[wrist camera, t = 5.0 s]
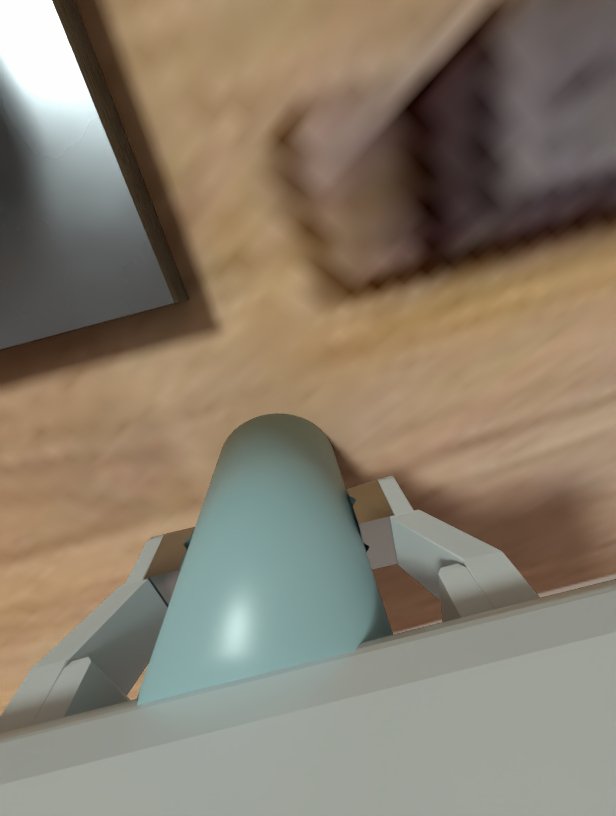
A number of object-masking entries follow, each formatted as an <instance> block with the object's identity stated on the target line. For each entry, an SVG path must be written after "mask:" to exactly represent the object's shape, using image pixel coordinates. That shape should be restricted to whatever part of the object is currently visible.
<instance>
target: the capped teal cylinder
mask: <svg viewBox="0 0 616 816" xmlns="http://www.w3.org/2000/svg"><path fill="white" fill-rule="evenodd" d="M390 635H393V633H392V630H391V627H390V624H389V621H388V618H387V614H386V611H385V608H384V605H383V602H382V599H381V596H380V593H379V590H378V587H377V584H376V581H375V577H374V574H373V571H372V568H371V565H370V562H369V559H368V556H367V553H366V550H365V547H364V543H363V540H362V538H361V535H360V532H359V529H358V525H357V522H356V519H355V516H354V513H353V510H352V507H351V504H350V501H349V497H348V494H347V491H346V488H345V485H344V482H343V479H342V476H341V472H340V469H339V466H338V463H337V460H336V457H335V454H334V451H333V448H332V445H331V443H330V441H329V439H328V438H327V436H326V435H325V434H324V433H323V432H322V431H321V430H320V429H319V428H318V427H317V426H316V425H314V424H313V423H311V422H309V421H308V420H305V419H303V418H301V417H297V416H294V415H288V414H268V415H263V416H259V417H256V418H253V419H251V420H249V421H247V422H245V423H243V424H242V425H240V426H239V427H238V428H237V429H235V430H234V431H233V432H232V433H231V435H230V436H229V437H228V438H227V440H226V441H225V443H224V445H223V447H222V450H221V453H220V456H219V459H218V462H217V465H216V468H215V471H214V474H213V476H212V479H211V482H210V485H209V488H208V491H207V494H206V497H205V500H204V503H203V506H202V509H201V512H200V515H199V518H198V521H197V524H196V526H195V529H194V532H193V535H192V538H191V541H190V544H189V547H188V550H187V553H186V556H185V559H184V562H183V565H182V568H181V571H180V574H179V576H178V579H177V582H176V585H175V588H174V591H173V594H172V597H171V600H170V603H169V606H168V609H167V612H166V615H165V618H164V621H163V624H162V627H161V629H160V632H159V635H158V638H157V641H156V644H155V647H154V650H153V653H152V656H151V659H150V662H149V665H148V668H147V671H146V674H145V677H144V679H143V682H142V685H141V688H140V691H139V694H138V697H137V699H138V703H137V705H139V704H143V703H147V702H151V701H155V700H159V699H163V698H167V697H171V696H175V695H179V694H183V693H186V692H190V691H194V690H198V689H202V688H206V687H210V686H214V685H218V684H222V683H226V682H230V681H234V680H238V679H242V678H246V677H250V676H254V675H258V674H262V673H266V672H270V671H274V670H278V669H282V668H286V667H290V666H294V665H298V664H302V663H306V662H310V661H314V660H318V659H322V658H326V657H330V656H334V655H338V654H342V653H346V652H350V651H354V650H356V649H357V647H358V646H359V644H361V643H363V642H366V641H370V640H374V639H378V638H382V637H386V636H390Z"/></svg>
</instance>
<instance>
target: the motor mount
mask: <svg viewBox="0 0 616 816" xmlns="http://www.w3.org/2000/svg"><path fill="white" fill-rule="evenodd" d="M186 300H189V298H188V296H187V293H186V290H185V288H184V285H183V283H182V280H181V277H180V275H179V272H178V270H177V267H176V264H175V262H174V259H173V257H172V254H171V251H170V249H169V246H168V244H167V241H166V238H165V236H164V233H163V231H162V228H161V225H160V223H159V220H158V217H157V215H156V212H155V210H154V207H153V204H152V202H151V199H150V197H149V194H148V191H147V189H146V186H145V184H144V181H143V178H142V176H141V173H140V171H139V168H138V165H137V163H136V160H135V158H134V155H133V152H132V150H131V147H130V145H129V142H128V139H127V137H126V134H125V132H124V129H123V126H122V124H121V121H120V119H119V116H118V113H117V111H116V108H115V106H114V103H113V100H112V98H111V95H110V93H109V90H108V87H107V85H106V82H105V80H104V77H103V74H102V72H101V69H100V66H99V64H98V61H97V59H96V56H95V53H94V51H93V48H92V46H91V43H90V40H89V38H88V35H87V33H86V30H85V27H84V25H83V22H82V20H81V17H80V14H79V12H78V9H77V7H76V4H75V1H74V0H0V350H3V349H7V348H10V347H14V346H18V345H21V344H25V343H29V342H33V341H36V340H40V339H44V338H48V337H51V336H55V335H59V334H63V333H66V332H70V331H74V330H77V329H81V328H85V327H89V326H92V325H96V324H100V323H104V322H107V321H111V320H115V319H119V318H122V317H126V316H130V315H133V314H137V313H141V312H145V311H148V310H152V309H156V308H160V307H163V306H167V305H171V304H175V303H178V302H182V301H186Z"/></svg>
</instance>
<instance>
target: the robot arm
mask: <svg viewBox="0 0 616 816" xmlns="http://www.w3.org/2000/svg"><path fill="white" fill-rule="evenodd" d="M346 489H347V494H348V497H349V501H350V504H351V507H352V510H353V513H354V516H355V519H356V522H357V525H358V529H359V532H360V535H361V538H362V540H363V543H364V547H365V550H366V553H367V556H368V559H369V562H370V565H371V568H372V569H376V568H381V567H385V566H390V565H394V564H398V565H399V566H400V567H401V568H402V569H403V570H404V571H406V572H407V573H408V574H409V575H410V576H412V577H413V578H414V579H415V580H416V581H417V582H419V583H420V584H421V585H422V586H423V587H425V588H426V589H427V590H428V591H429V592H431V593H432V594H433V595H434V596H435V597H436V598H438V599H439V600H440V601H441V610H442V621H443V622H442V623H438V624H434V625H430V626H426V627H422V628H418V629H414V630H410V631H406V632H402V633H398V634H394V635H390V636H386V637H382V638H378V639H374V640H370V641H366V642H363V643H361V644H359V646H358V647H357V649H356V650H354V651H350V652H346V653H342V654H338V655H334V656H330V657H326V658H322V659H318V660H314V661H310V662H306V663H302V664H298V665H294V666H290V667H286V668H282V669H278V670H274V671H270V672H266V673H262V674H258V675H254V676H250V677H246V678H242V679H238V680H234V681H230V682H226V683H222V684H218V685H214V686H210V687H206V688H202V689H198V690H194V691H190V692H186V693H183V694H179V695H175V696H171V697H167V698H163V699H159V700H155V701H151V702H147V703H143V704H139V705H137V703H138V699H135V700H130V699H129V698H128V697H127V694H128V693H129V691H130V690H131V688H132V687H133V685H134V684H135V683H136V681H137V680H138V678H139V677H140V675H141V674H142V672H143V671H144V669H145V668H146V666H147V665H148V663H149V662H150V659H151V656H152V653H153V650H154V647H155V644H156V641H157V638H158V635H159V632H160V629H161V627H162V624H163V621H164V618H165V615H166V612H167V609H168V606H169V603H170V600H171V597H172V594H173V591H174V588H175V585H176V582H177V579H178V576H179V574H180V571H181V568H182V565H183V562H184V559H185V556H186V553H187V550H188V547H189V544H190V541H191V538H192V535H193V532H194V529H195V527H192V528H188V529H184V530H179V531H175V532H171V533H167V534H163V535H159V536H155V537H152V538H150V539H149V540H148V541H147V543H146V544H145V546H144V548H143V550H142V552H141V554H140V556H139V558H138V560H137V562H136V564H135V566H134V568H133V570H132V572H131V574H130V576H129V578H128V580H127V581H126V583H125V585H121V586H119V587H118V588H117V589H116V590H115V591H114V592H113V593H112V594H111V595H110V596H109V597H107V598H106V599H105V600H104V601H103V602H102V603H101V604H100V605H99V606H98V607H97V608H96V609H95V610H94V611H93V612H92V613H90V614H89V615H88V616H87V617H86V618H85V619H84V620H83V621H82V622H81V623H80V624H79V625H78V626H77V627H76V628H74V629H73V630H72V631H71V632H70V633H69V634H68V635H67V636H66V637H65V638H64V639H63V640H62V641H61V642H60V643H58V644H57V645H56V646H55V647H54V648H53V649H52V650H51V651H50V652H49V653H48V654H47V655H46V656H45V657H44V658H43V659H41V660H40V661H39V662H38V663H37V664H36V665H35V666H34V667H33V668H32V669H31V670H30V672H29V673H28V675H27V676H26V678H25V679H24V681H23V682H22V684H21V686H20V687H19V689H18V690H17V692H16V693H15V695H14V696H13V698H12V700H11V701H10V703H9V704H8V706H7V707H6V709H5V710H4V712H3V714H2V715H1V717H0V816H616V579H614V580H610V581H606V582H602V583H598V584H594V585H590V586H586V587H582V588H578V589H575V590H570V591H566V592H562V593H558V594H554V595H550V596H546V597H542V598H540V597H539V596H538V594H537V593H536V592H535V591H534V589H533V588H532V587H531V586H530V585H529V583H528V582H527V581H526V580H525V579H524V577H523V576H522V575H521V574H520V573H519V571H518V570H517V569H516V568H515V566H514V565H513V564H512V563H511V562H510V560H509V559H508V558H507V557H506V556H505V554H504V553H503V552H502V551H501V550H499V549H497V548H495V547H493V546H491V545H489V544H487V543H485V542H483V541H481V540H479V539H477V538H475V537H473V536H471V535H469V534H467V533H465V532H463V531H461V530H459V529H457V528H455V527H453V526H451V525H449V524H447V523H445V522H443V521H441V520H439V519H437V518H435V517H433V516H431V515H429V514H427V513H425V512H423V511H421V510H415V511H414V510H413V508H412V506H411V505H410V503H409V501H408V500H407V498H406V496H405V495H404V493H403V491H402V490H401V488H400V486H399V485H398V483H397V481H396V480H395V478H394V477H393V476H392V475H391V476H388V477H384V478H381V479H377V480H375V481H371V482H367V483H364V484H360V485H356V486H352V487H348V488H346Z"/></svg>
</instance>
